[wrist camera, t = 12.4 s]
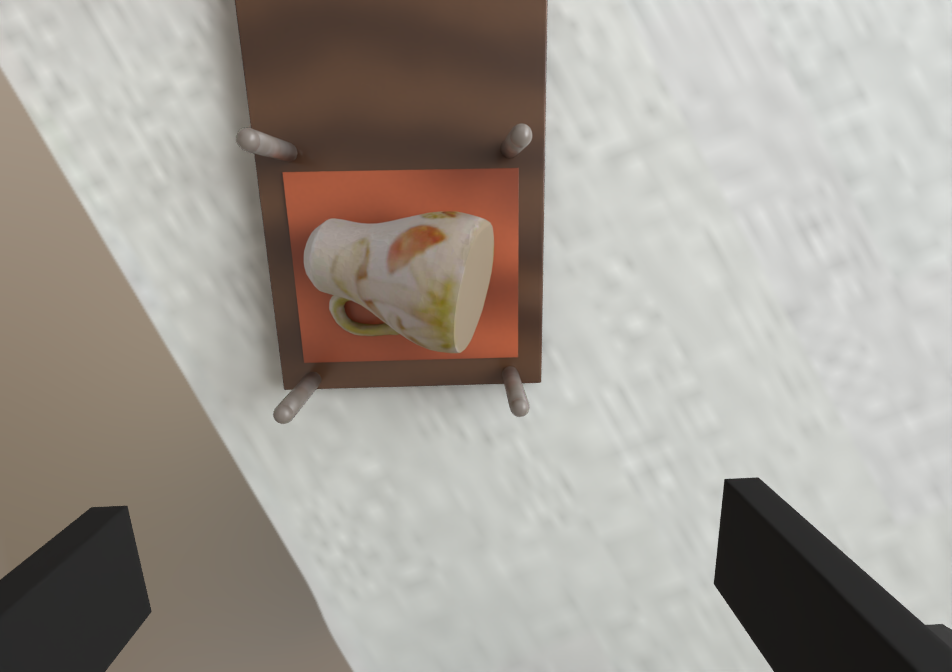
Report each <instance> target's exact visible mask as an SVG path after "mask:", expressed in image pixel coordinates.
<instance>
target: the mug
mask: <svg viewBox="0 0 952 672" xmlns="http://www.w3.org/2000/svg"><path fill="white" fill-rule="evenodd" d="M493 257H494V234H493V227H492V225H491V223H490V222H489V221H487V220H486V219H483V218H481V217H477V216H474V215H470V214H466V213H462V212H455V211H441V212H430V213H425V214H420V215H416V216H411V217H407V218H402V219H398V220H393V221H389V222H383V223H374V224H366V223H357V222H351V221H347V220H342V219H336V218H333V219H328V220H326V221H325V222H324V223H322V224H321V225H319V226H318V227H317V228H316V229H315V230H314V231H313V232H312V233H311V235H310V236H309V238H308V241H307V243H306V247H305V250H304V267H305V271H306V274H307V276H308V277H309V279H310V280H311V282H312V283H313V285H314V286H315V287H316V288H317V289H318V290H319V291H321V292H324V293H328V294H331V295H333V296H332V297H331V299H330V302H329V310H330V312H331V314H332V316H333V318H334V319H335V321H336V323H337V324H338V325H339V326H341V327H342V328H343V329H344V330H346V331H348V332H350V333H352V334H354V335H360V336H382V335H399V334H401V335H402V336H404V337H405V338H407V339H408V340H410V341H412V342H413V343H415V344H417V345H419V346H421V347H424V348H426V349H429V350H433V351H437V352H445V353H461V352H462V351H463V350H465V349H466V347H467V346H468V344H469V343H470V341H471V339H472V337H473V334H474V332H475V329H476V327H477V324H478V321H479V319H480V316H481V313H482V310H483V306H484V302H485V298H486V294H487V290H488V286H489V282H490V277H491V273H492V266H493ZM350 300H352V301H354V302H356V303H358V304H360V305H362V306H363V307H365V308H366V309H368V310H369V311H370V312H372V313H373V314H374V315H376V316H377V317H378V318H379V319H381V320H382V321H383V322H385V323H383V324H363V323H358V322H355V321H353V320H351V319H350V318H349V317H348V316H347V314H346V312H345V308H344V305H345V303H346V302H347V301H350Z"/></svg>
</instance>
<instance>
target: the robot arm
mask: <svg viewBox="0 0 952 672" xmlns="http://www.w3.org/2000/svg"><path fill="white" fill-rule="evenodd" d="M714 585H715V586H716V588H717V589H718V591H719V592H720V594H721V595H722V596H723V598H724V599H725V601H726V602H727V604H728V605H729V607H730V608H731V610H732V611H733V612H734V614H735V615H736V617H737V618H738V620H739V621H740V623H741V624H742V626H743V627H744V629H745V630H746V631H747V633H748V634H749V636H750V637H751V639H752V640H753V642H754V643H755V645H756V646H757V647H758V649H759V650H760V652H761V653H762V655H763V656H764V658H765V659H766V661H767V662H768V664H769V665H770V666H771V668H772V669H773V671H774V672H952V630H951V629H950V628H948V627H946V626H944V625H943V624H935V625H924V624H923V623H922V622H921V621H920V620H919V619H918V618H917V617H915V616H914V615H913V614H912V613H911V612H910V611H909V610H908V609H906V608H905V607H904V606H903V605H902V604H901V603H900V602H898V601H897V600H896V599H895V598H894V597H893V596H892V595H891V594H889V593H888V592H887V591H886V590H885V589H884V588H883V587H882V586H880V585H879V584H878V583H877V582H876V581H875V580H874V579H872V578H871V577H870V576H869V575H868V574H867V573H866V572H865V571H863V570H862V569H861V568H860V567H859V566H858V565H857V564H856V563H854V562H853V561H852V560H851V559H850V558H849V557H848V556H846V555H845V554H844V553H843V552H842V551H841V550H840V549H839V548H837V547H836V546H835V545H834V544H833V543H832V542H831V541H830V540H828V539H827V538H826V537H825V536H824V535H823V534H822V533H820V532H819V531H818V530H817V529H816V528H815V527H814V526H813V525H811V524H810V523H809V522H808V521H807V520H806V519H805V518H804V517H802V516H801V515H800V514H799V513H798V512H797V511H796V510H794V509H793V508H792V507H791V506H790V505H789V504H788V503H787V502H785V501H784V500H783V499H782V498H781V497H780V496H779V495H778V494H776V493H775V492H774V491H773V490H772V489H771V488H770V487H768V486H767V485H766V484H765V483H764V482H763V481H762V480H761V479H759V478H739V479H725V480H724V490H723V499H722V509H721V519H720V529H719V538H718V548H717V558H716V568H715V578H714ZM150 613H151V607H150V603H149V599H148V595H147V590H146V586H145V582H144V577H143V572H142V568H141V564H140V559H139V555H138V551H137V546H136V542H135V538H134V533H133V529H132V524H131V520H130V516H129V511H128V507H127V506H111V507H92V508H90V509H89V510H87V511H86V512H85V513H84V514H82V515H81V516H80V517H79V518H77V520H75V521H74V522H72V523H71V524H70V525H69V526H67V527H66V528H65V529H64V530H62V531H61V532H60V533H59V534H57V535H56V536H55V537H54V538H52V539H51V540H50V541H48V542H47V543H46V544H45V545H44V546H42V547H41V548H40V549H38V550H37V551H36V552H35V553H33V554H32V555H31V556H30V557H28V558H27V559H26V560H25V561H23V562H22V563H21V564H20V565H18V566H17V567H16V568H15V569H13V570H12V571H11V572H10V573H8V574H7V575H6V576H5V577H3V578H2V579H1V580H0V672H105V671H106V670H107V668H108V667H109V666H110V664H111V663H112V662H113V661H114V659H115V658H116V657H117V656H118V654H119V653H120V652H121V650H122V649H123V648H124V646H125V645H126V644H127V643H128V641H129V640H130V639H131V637H132V636H133V635H134V634H135V632H136V631H137V630H138V628H139V627H140V626H141V625H142V623H143V622H144V621H145V619H146V618H147V617H148V615H149V614H150Z"/></svg>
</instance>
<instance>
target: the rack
mask: <svg viewBox="0 0 952 672" xmlns="http://www.w3.org/2000/svg"><path fill="white" fill-rule="evenodd" d="M547 1H548V0H235V5H236V12H237V20H238V28H239V36H240V44H241V52H242V60H243V68H244V76H245V83H246V91H247V99H248V107H249V115H250V123H251V128H243V129H241V130H239V131H238V133H237V135H236V141H237V144H238V145H239V147H240V148H241V149H242V150H244V151H246V152H250V153H254V154H255V162H256V170H257V178H258V186H259V194H260V202H261V210H262V218H263V226H264V233H265V241H266V249H267V257H268V265H269V273H270V281H271V289H272V297H273V304H274V312H275V320H276V328H277V336H278V344H279V352H280V360H281V368H282V375H283V383H284V389H285V390H292V391H291V392H290V393H289V394H288V395H287V396H286V397H285V398H284V399H283V401H282V402H281V403H280V404H279V405H278V406H277V407H276V408H275V410H274V413H273V416H274V419H275V420H276V421H277V422H278V423H281V424H286V423H289V422H290V421H291V420H292V419H293V418H294V417H295V415H296V414H297V413H298V412H299V410H300V409H301V408H302V406H303V405H304V404H305V403H306V401H307V400H308V399H309V398H310V396H311V395H312V394H313V393H314V391H315V390H316V389H332V388H368V387H404V386H440V385H476V384H504V385H505V389H506V394H507V398H508V402H509V406H510V410H511V412H512V413H513V414H514V415H515V416H517V417H522V416H525V415H526V414H527V413H528V411H529V408H530V407H529V402H528V400H527V397H526V394H525V391H524V388H523V385H522V383H540V382H541V363H542V303H543V242H544V182H545V122H546V61H547ZM441 211H455V212H462V213H466V214H470V215H474V216H477V217H481V218H483V219H486V220H487V221H489V222H490V223H491V225H492V227H493V234H494V257H493V266H492V273H491V277H490V282H489V286H488V290H487V294H486V298H485V302H484V306H483V310H482V313H481V316H480V319H479V321H478V324H477V327H476V329H475V332H474V334H473V337H472V339H471V341H470V343H469V344H468V346H467V347H466V349H465V350H463V351H462V352H461V353H445V352H437V351H433V350H429V349H426V348H424V347H421V346H419V345H417V344H415V343H413V342H412V341H410V340H408V339H407V338H405V337H404V336H402V335H401V334H399V335H382V336H360V335H354V334H352V333H350V332H348V331H346V330H344V329H343V328H342V327H341V326H339V325H338V324H337V323H336V321H335V319H334V318H333V316H332V314H331V312H330V310H329V302H330V299H331V297H332V296H333V295H331V294H328V293H324V292H321V291H319V290H318V289H317V288H316V287H315V286H314V285H313V283H312V282H311V280H310V279H309V277H308V276H307V274H306V271H305V267H304V250H305V247H306V243H307V241H308V238H309V236H310V235H311V233H312V232H313V231H314V230H315V229H316V228H317V227H318V226H319V225H321V224H322V223H324V222H325V221H326V220H328V219H333V218H336V219H342V220H347V221H351V222H357V223H366V224H374V223H383V222H389V221H393V220H398V219H402V218H407V217H411V216H416V215H420V214H425V213H430V212H441ZM344 308H345V312H346V314H347V316H348V317H349V318H350V319H351V320H353V321H355V322H358V323H363V324H383V323H385V322H383V321H382V320H381V319H379V318H378V317H377V316H376V315H374V314H373V313H372V312H370V311H369V310H368V309H366V308H365V307H363V306H362V305H360V304H358V303H356V302H354V301H352V300H350V301H347V302H346V303H345V305H344Z"/></svg>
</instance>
